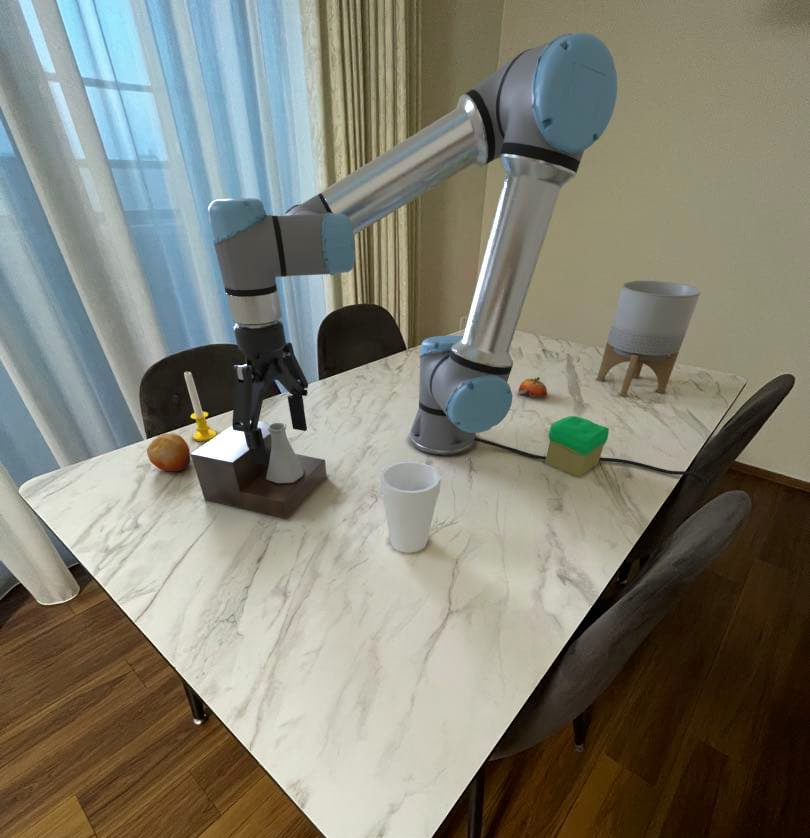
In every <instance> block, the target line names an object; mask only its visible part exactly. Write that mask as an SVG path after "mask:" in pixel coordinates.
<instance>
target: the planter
mask: <svg viewBox="0 0 810 838" xmlns="http://www.w3.org/2000/svg"><path fill="white" fill-rule="evenodd" d="M701 293H702V291H701V289H699V288H697V287H695V286H693V285H688V284H684V283H679V282H672V281H662V280H632V281H631V280H630V281H626V282H624V283H622V285H621V289H620V293H619V296H618V300H617V304H616V307H615V311H614V315H613V318H612V322H611V325H610V329H609V333H608V335H607V336H608V337H607V341H606V344H605V347H604V350H603V351H604V352H603V354H602V355H603V356H602V358H601V363H600V367H599V369H598V370H599V371H598V373H597V374H598V375H597V378H596V381H600V382H604V381H605V378H606V377H607V374H608V373H609V372H610V370H611V369H613V368H614V367H616V366H617V365H619V364H622V363H626V362H629V363H628V367H627V370H626V373H625V376H624V379H623V383H622V386H621V389H620V393H619V397H624V398H626V396H627V395H628V392H629V388H630V386H631V383H632V380H633V379H637V380H638V379H639V378H640V375H641V372H642V369H643V366H644V365H645V366H647V367H649V368H650V369H651V370H652V372H653V373H654V374H655V376H656V381H657V389H656V393H657V394H664V393H665V391H666V389H667V386H668V383H669V380H670V378H671V375H672V372H673V369H674V366H675V364H676V362H677V358H678V356H679V353H680V350H681V347H682V344H683V342H684V339H685V337H686V334H687V331H688V328H689V325H690V323H691V320H692V317H693V315H694V312H695V309H696V307H697V305H698V301H699V298H700V296H701Z"/></svg>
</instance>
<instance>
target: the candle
mask: <svg viewBox="0 0 810 838" xmlns="http://www.w3.org/2000/svg"><path fill="white" fill-rule="evenodd" d="M183 375H184V380H185V384H186V388H187V391H188V394H189V397H190V401H191V404H192V408H193V412H192V413H191V415H190V418H191V419H192V420H195V422H196V426H195V431H196V432H195V433H193V440H195V441H197V442H209V441H210V440H212V439H213V438H215V437H216V436H217V435H218V433H217V431H216V430H213V429H211V425H210V424H208V423H207V420H206V418H207V417H208V416H209V412H207V411H203V409H202V405H201V401H200V398H199V394H198V390H197V387H196V384H195V380H194V377H193V374H192V372H191V371H185V372H184V373H183Z"/></svg>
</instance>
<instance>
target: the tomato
mask: <svg viewBox="0 0 810 838" xmlns="http://www.w3.org/2000/svg"><path fill="white" fill-rule="evenodd" d="M540 379H541V377H539V376H537V377H535V378H526V379H525V380H523V381H522V382H521V383H520V385H519V388H518V393H520V392H525V391H529V392H526V394H528V395H529V397H530V398H533V397H547V395H548V390H547V386H546V385H545V384H544V383H543V382H542V381H540Z"/></svg>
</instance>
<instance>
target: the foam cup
mask: <svg viewBox="0 0 810 838" xmlns="http://www.w3.org/2000/svg"><path fill="white" fill-rule="evenodd" d="M441 479H442V478H441V474H440V472H439V471H438V470H437V469H436V468H435V467H433V466H432V465H430V464H428V463H424V462H421V461H411V460H409V461H408V460H406V461H399V462H394V463H391V464H390V465H387V466H385V467H384V468H383V469H382V471H381V472H380V473H379V484H380V487H379V488H380V494H381V496H382V501H383V507H384V511H385V518H386V525H387V527H388V528H387V529H388V534H389V540H390V544H391V546H392V547H393V548H394V549H395V550H396V551H398V552H401V553H407V554H412V553H417V552H420V551H422V550H423V549H425V548H426V545H428V540H429V536H430V531H431V528H432V523H433V519H434V514H435V508H436V504H437V500H438V495H439V493H440V492H441Z"/></svg>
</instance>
